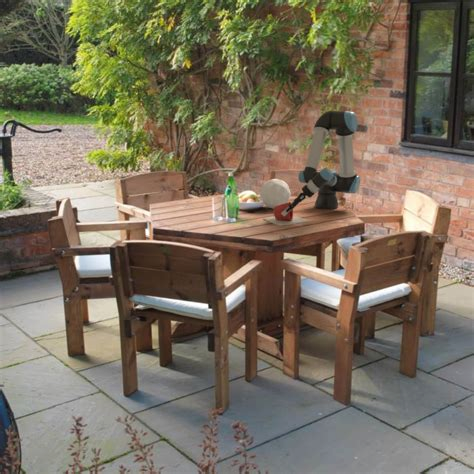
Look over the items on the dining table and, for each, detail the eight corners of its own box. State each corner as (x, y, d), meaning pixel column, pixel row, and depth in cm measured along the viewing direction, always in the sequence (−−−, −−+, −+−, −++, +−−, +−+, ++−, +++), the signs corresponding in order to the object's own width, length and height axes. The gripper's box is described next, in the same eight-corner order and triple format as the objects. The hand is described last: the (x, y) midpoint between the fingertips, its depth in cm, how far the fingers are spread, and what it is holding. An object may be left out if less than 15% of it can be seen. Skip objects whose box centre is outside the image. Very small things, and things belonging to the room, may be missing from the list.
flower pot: (275, 225, 433) (291, 223, 430) (272, 208, 428) (288, 206, 425) (278, 217, 442) (294, 215, 439) (274, 200, 437) (290, 199, 434)
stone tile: (291, 215, 448) (291, 214, 448) (308, 222, 433) (308, 220, 433) (263, 219, 438) (263, 218, 438) (279, 225, 423) (279, 224, 423)
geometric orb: (278, 216, 475) (294, 191, 477) (281, 212, 455) (297, 185, 457) (253, 201, 475) (269, 176, 477) (255, 196, 455) (271, 170, 457)
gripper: (309, 180, 439) (283, 203, 446) (303, 188, 415) (276, 212, 422) (317, 189, 439) (292, 212, 446) (312, 197, 415) (285, 221, 423)
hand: (284, 212), depth 434 cm, fingers open, 13 cm apart
